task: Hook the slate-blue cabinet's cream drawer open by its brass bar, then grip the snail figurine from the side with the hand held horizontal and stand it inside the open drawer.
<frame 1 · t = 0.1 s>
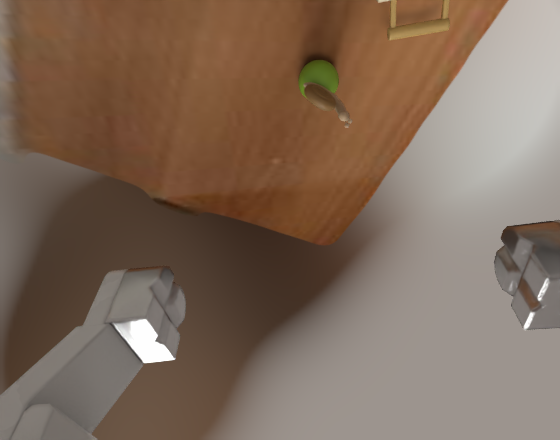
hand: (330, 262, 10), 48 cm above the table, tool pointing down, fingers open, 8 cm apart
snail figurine: (320, 74, 55), on the table
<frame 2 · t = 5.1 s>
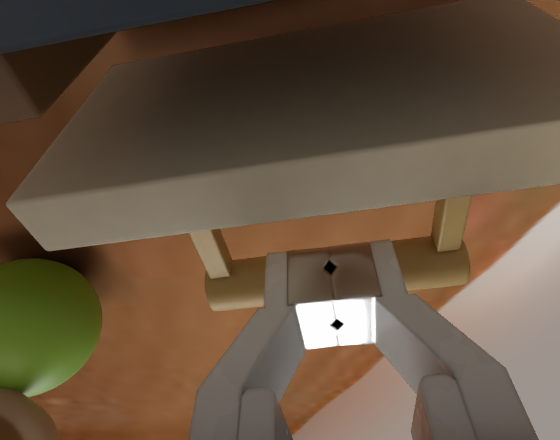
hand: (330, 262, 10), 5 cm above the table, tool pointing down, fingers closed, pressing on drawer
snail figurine: (69, 272, 18), on the table
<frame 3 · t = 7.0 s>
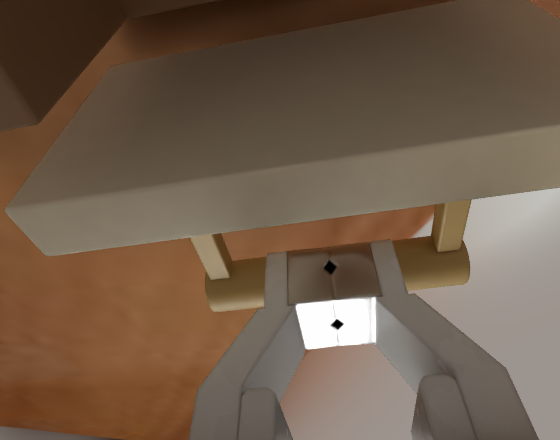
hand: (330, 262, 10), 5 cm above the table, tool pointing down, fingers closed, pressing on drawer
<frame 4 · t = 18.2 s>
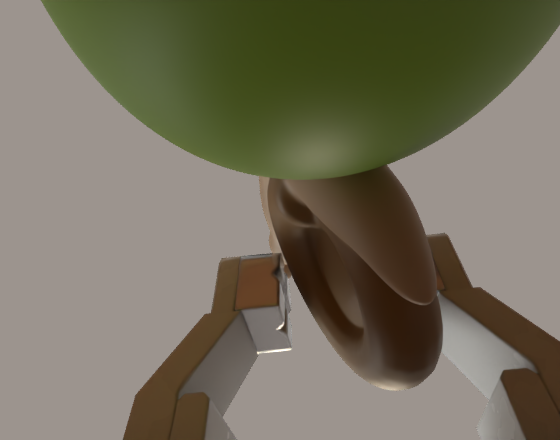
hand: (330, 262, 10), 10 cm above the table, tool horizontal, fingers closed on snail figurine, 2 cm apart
when the fingers open (12 cm above the table, at t = 25.1 s): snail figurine stays where it is, resting on drawer.
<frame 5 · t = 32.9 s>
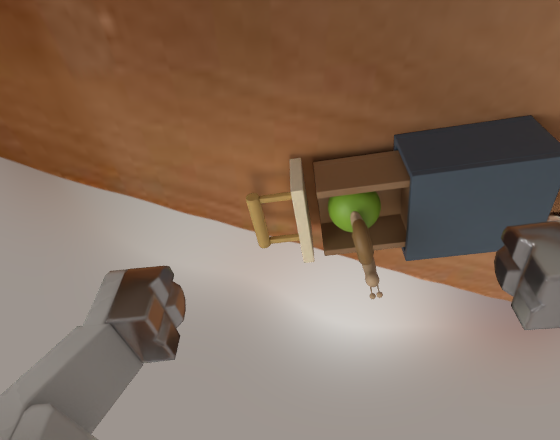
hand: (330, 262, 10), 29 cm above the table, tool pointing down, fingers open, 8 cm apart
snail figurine: (351, 192, 43), point 2 cm above the table, touching drawer
drawer: (331, 208, 42), point 4 cm above the table, slide at 9.8 cm, touching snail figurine
cabinet: (453, 171, 43), on the table
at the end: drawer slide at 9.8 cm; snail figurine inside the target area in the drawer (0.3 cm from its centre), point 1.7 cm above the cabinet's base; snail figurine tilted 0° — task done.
